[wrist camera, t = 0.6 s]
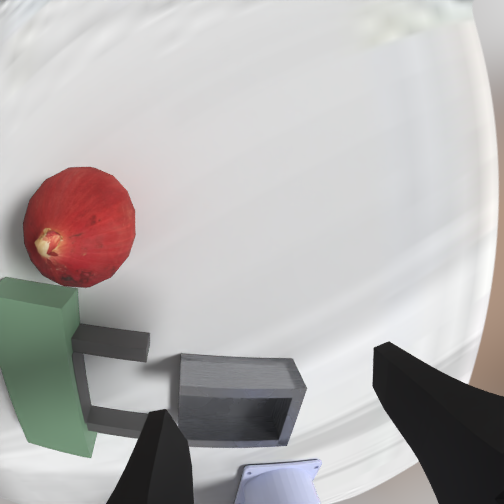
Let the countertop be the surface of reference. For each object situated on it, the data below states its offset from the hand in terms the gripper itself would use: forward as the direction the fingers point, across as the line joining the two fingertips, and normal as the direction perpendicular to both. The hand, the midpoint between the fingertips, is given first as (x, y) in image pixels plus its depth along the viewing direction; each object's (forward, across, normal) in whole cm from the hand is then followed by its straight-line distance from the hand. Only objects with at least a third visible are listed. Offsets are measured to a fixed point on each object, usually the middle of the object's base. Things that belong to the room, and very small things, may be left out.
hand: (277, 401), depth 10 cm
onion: (+12, +7, -6) cm, 15 cm away
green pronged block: (+10, +13, +5) cm, 18 cm away
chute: (+10, +2, +9) cm, 14 cm away
